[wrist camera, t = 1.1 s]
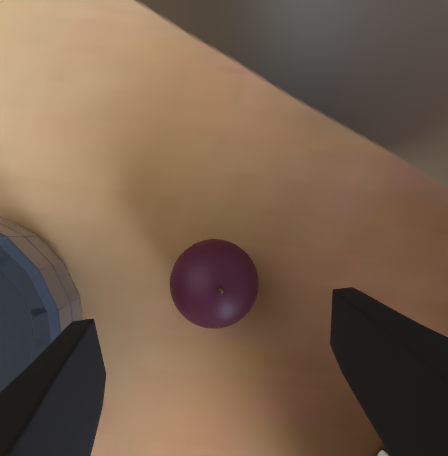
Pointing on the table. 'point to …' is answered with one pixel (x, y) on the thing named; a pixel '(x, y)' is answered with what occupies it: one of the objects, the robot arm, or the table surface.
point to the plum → (214, 283)
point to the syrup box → (383, 453)
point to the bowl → (30, 299)
